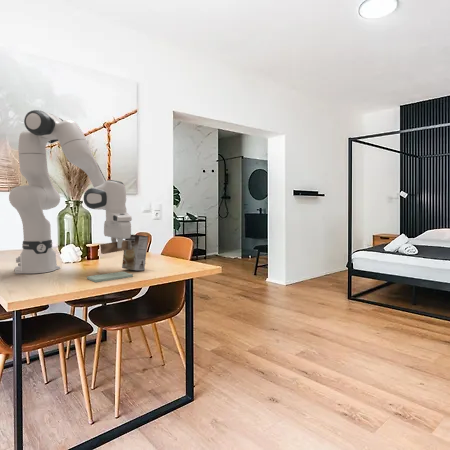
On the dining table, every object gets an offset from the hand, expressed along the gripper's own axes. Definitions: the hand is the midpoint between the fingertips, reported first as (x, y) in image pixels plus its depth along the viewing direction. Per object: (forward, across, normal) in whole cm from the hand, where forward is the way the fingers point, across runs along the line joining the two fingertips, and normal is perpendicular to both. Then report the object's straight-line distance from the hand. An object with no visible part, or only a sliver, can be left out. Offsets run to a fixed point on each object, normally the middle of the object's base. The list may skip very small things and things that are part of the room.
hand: (117, 247), depth 159 cm
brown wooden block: (+2, 0, -1) cm, 2 cm away
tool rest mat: (+11, +8, -7) cm, 16 cm away
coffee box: (+11, 0, +8) cm, 14 cm away
